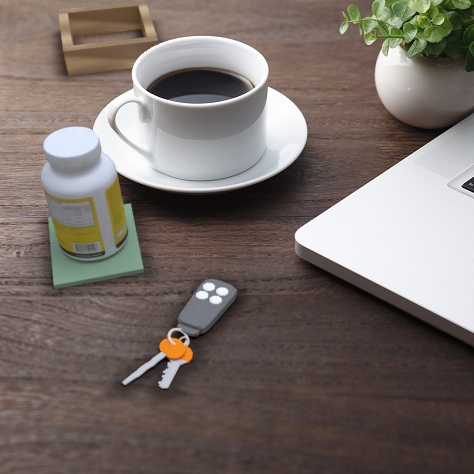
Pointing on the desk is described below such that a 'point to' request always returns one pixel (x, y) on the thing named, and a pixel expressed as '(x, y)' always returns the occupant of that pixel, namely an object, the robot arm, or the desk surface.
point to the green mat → (97, 270)
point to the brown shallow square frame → (105, 21)
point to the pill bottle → (83, 195)
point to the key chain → (191, 327)
